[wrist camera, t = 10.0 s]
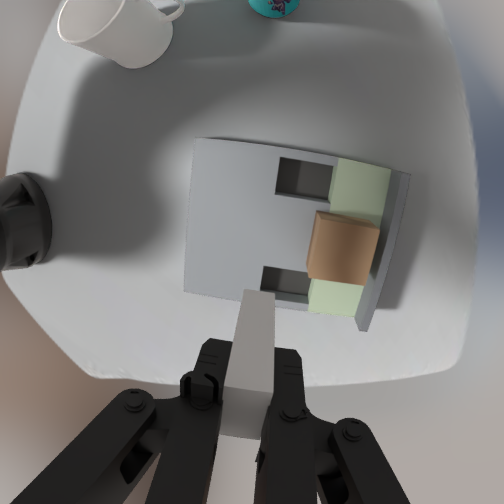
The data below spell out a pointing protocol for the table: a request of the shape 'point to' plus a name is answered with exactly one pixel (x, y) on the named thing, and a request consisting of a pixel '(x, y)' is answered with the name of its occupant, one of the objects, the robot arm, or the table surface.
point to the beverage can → (274, 7)
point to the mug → (118, 29)
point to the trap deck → (283, 224)
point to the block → (341, 248)
